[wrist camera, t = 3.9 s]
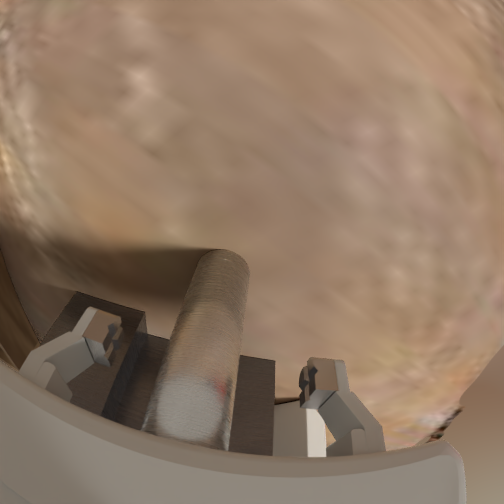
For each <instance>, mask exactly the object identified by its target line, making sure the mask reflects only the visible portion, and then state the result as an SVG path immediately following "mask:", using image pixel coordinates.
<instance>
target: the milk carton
mask: <svg viewBox="0 0 504 504" xmlns="http://www.w3.org/2000/svg"><path fill="white" fill-rule="evenodd" d="M273 456H282V457H326V435H325V422H324V420H323V419H322V417H321V416H320V415H319V413H318V412H317V411H316V410H315V409H305V408H300V401H295V402H290V403H284V404H279V405H274V432H273Z"/></svg>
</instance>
